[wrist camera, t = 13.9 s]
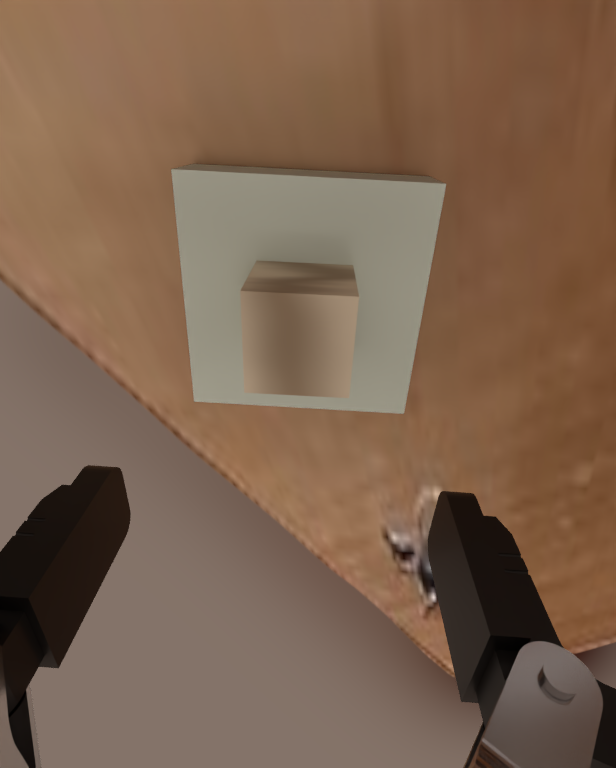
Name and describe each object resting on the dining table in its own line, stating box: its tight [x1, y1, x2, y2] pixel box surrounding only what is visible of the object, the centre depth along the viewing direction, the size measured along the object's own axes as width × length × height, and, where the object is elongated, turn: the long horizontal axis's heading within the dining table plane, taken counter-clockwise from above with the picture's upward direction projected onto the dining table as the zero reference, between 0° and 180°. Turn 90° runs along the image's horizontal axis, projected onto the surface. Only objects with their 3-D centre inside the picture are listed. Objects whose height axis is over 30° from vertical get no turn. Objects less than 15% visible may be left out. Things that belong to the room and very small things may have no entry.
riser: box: [171, 164, 446, 414], centre depth 26 cm, size 13×13×4 cm
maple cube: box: [240, 261, 359, 398], centre depth 22 cm, size 5×5×5 cm
